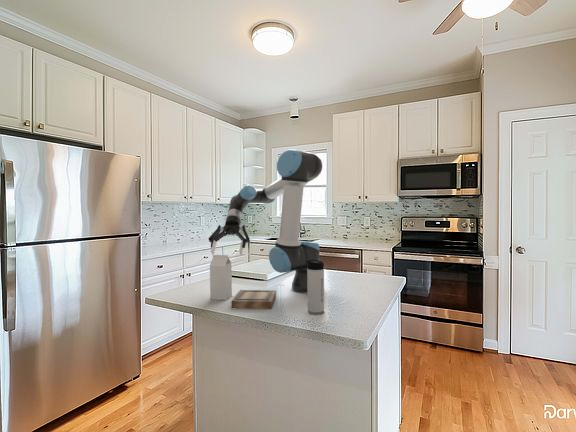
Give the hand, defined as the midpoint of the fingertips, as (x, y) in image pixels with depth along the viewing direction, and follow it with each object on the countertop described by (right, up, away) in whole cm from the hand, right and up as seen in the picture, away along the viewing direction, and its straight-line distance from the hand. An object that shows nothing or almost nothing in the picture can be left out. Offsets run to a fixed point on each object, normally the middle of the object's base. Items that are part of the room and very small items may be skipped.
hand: (226, 253), depth 146 cm
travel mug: (+40, -19, -29) cm, 53 cm away
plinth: (+15, -19, -17) cm, 29 cm away
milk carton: (0, -19, -10) cm, 21 cm away
